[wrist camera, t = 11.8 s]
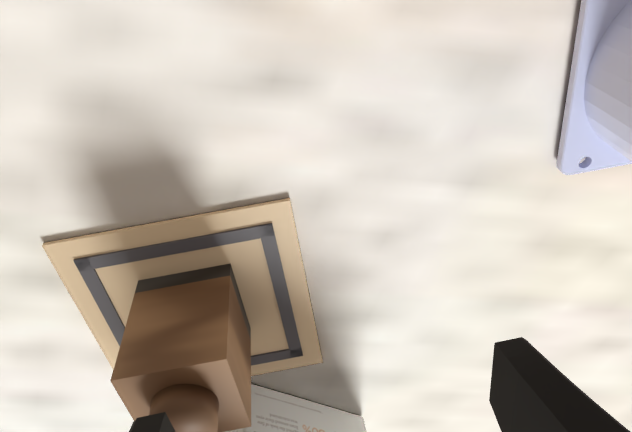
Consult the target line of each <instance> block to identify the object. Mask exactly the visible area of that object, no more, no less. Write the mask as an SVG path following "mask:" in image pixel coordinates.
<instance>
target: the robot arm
mask: <svg viewBox="0 0 632 432" xmlns="http://www.w3.org/2000/svg"><path fill="white" fill-rule="evenodd" d="M584 157H586V158H585V160H584V161H583V162H582V163H580V164H579V162H580V160H581V159H583V158H584ZM627 164H632V0H581V6H580V13H579V19H578V26H577V33H576V39H575V46H574V52H573V59H572V65H571V72H570V78H569V85H568V92H567V98H566V105H565V111H564V118H563V124H562V131H561V138H560V144H559V151H558V157H557V168H558V169H559V170H560V171H561V172H562V173H563V174H565V175H573V174H578V173H584V172H589V171H595V170H600V169H605V168H611V167H616V166H622V165H627ZM489 401H490V404H491V406H492V409H493V411H494V414H495V416H496V419H497V421H498V424H499V426H500V429H501V431H502V432H630V431H629V430H628V429H626V428H625V427H624V426H623V425H621V424H620V423H619V422H618V421H617V420H615V419H614V418H613V417H612V416H611V415H610V414H608V413H607V412H606V411H605V410H604V409H602V408H601V407H600V406H599V405H598V404H596V403H595V402H594V401H593V400H592V399H591V398H589V397H588V396H587V395H586V394H585V393H584V392H583V391H581V390H580V389H579V388H578V387H577V386H576V385H575V384H574V383H572V382H571V381H570V380H569V379H568V378H567V377H566V376H565V375H563V374H562V373H561V372H560V371H559V370H558V369H557V368H556V367H555V366H554V365H552V364H551V363H550V362H549V361H548V360H547V359H546V358H545V357H544V356H543V355H542V354H541V353H540V352H538V351H537V350H536V349H535V348H534V347H533V346H532V345H531V344H530V343H529V342H528V341H527V340H525V339H524V338H522V337H521V338H516V339H511V340H506V341H502V342H497V343H495V345H494V356H493V367H492V378H491V389H490V400H489ZM129 432H175V430H174V428H173V426H172V424H171V422H170V420H169V418H168V416H167V414H166V412H163V413H158V414H153V415H148V416H144V417H139V418H136V420H135V421H134V422H133V424H132V426H131V429H130V431H129Z"/></svg>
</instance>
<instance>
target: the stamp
mask: <svg viewBox="0 0 632 432" xmlns="http://www.w3.org/2000/svg"><path fill="white" fill-rule="evenodd" d="M111 382H112V384H113V386H114V388H115V389H116V391H117V393H118V394H119V396H120V398H121V399H122V401H123V403H124V404H125V406H126V408H127V409H128V411H129V413H130V415H131V416H132V418H133V420H134V421H135V420H136V418H139V417H144V416H148V415H153V414H158V413H163V412H166V414H167V416H168V418H169V420H170V422H171V424H172V426H173V428H174V430H175V432H225V431H231V430H236V429H241V428H246V427H251V328H250V324H249V321H248V318H247V315H246V311H245V308H244V305H243V302H242V299H241V295H240V292H239V289H238V286H237V282H236V279H235V276H234V273H233V270H232V266H231V263H230V264H225V265H219V266H214V267H208V268H203V269H198V270H192V271H187V272H181V273H176V274H170V275H165V276H160V277H154V278H149V279H143V280H138V283H137V287H136V290H135V294H134V298H133V301H132V305H131V309H130V312H129V316H128V319H127V323H126V327H125V330H124V334H123V338H122V341H121V345H120V348H119V352H118V356H117V359H116V363H115V366H114V370H113V374H112V377H111Z"/></svg>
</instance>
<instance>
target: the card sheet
mask: <svg viewBox="0 0 632 432" xmlns="http://www.w3.org/2000/svg"><path fill="white" fill-rule="evenodd" d="M42 247H43V248H44V250H45V252H46V254H47V255H48V257H49V259H50V261H51V262H52V264H53V266H54V267H55V269H56V271H57V273H58V274H59V276H60V278H61V280H62V281H63V283H64V285H65V287H66V288H67V290H68V292H69V294H70V295H71V297H72V299H73V300H74V302H75V304H76V306H77V307H78V309H79V311H80V313H81V314H82V316H83V318H84V320H85V321H86V323H87V325H88V327H89V328H90V330H91V332H92V333H93V335H94V337H95V339H96V340H97V342H98V344H99V346H100V347H101V349H102V351H103V353H104V354H105V356H106V358H107V359H108V361H109V363H110V365H111V366H112V368H113V370H114V366H115V363H116V359H117V356H118V352H119V348H120V345H121V341H122V338H123V334H124V330H125V327H126V323H127V319H128V316H129V312H130V309H131V305H132V301H133V298H134V294H135V290H136V287H137V283H138V280H143V279H149V278H154V277H160V276H165V275H170V274H176V273H181V272H187V271H192V270H198V269H203V268H208V267H214V266H219V265H225V264H230V263H231V266H232V270H233V273H234V276H235V279H236V282H237V286H238V289H239V292H240V295H241V299H242V302H243V305H244V308H245V311H246V315H247V318H248V321H249V324H250V328H251V376H255V375H260V374H265V373H271V372H276V371H281V370H287V369H292V368H297V367H302V366H308V365H313V364H318V363H323V360H322V355H321V350H320V345H319V340H318V336H317V331H316V326H315V321H314V316H313V311H312V306H311V301H310V296H309V291H308V286H307V281H306V276H305V271H304V266H303V262H302V257H301V252H300V247H299V242H298V237H297V232H296V227H295V222H294V217H293V212H292V207H291V202H290V198H287V199H281V200H276V201H270V202H265V203H259V204H254V205H248V206H243V207H237V208H232V209H226V210H221V211H215V212H210V213H204V214H199V215H194V216H188V217H183V218H177V219H172V220H166V221H161V222H155V223H150V224H144V225H139V226H133V227H128V228H122V229H117V230H111V231H106V232H100V233H95V234H90V235H84V236H79V237H73V238H68V239H62V240H57V241H51V242H46V243H43V245H42Z"/></svg>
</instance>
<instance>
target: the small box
mask: <svg viewBox="0 0 632 432" xmlns="http://www.w3.org/2000/svg"><path fill="white" fill-rule="evenodd" d="M225 432H366V428H365V424H364V419H363V417H361V416H359V415H355V414H352V413H348V412H345V411H342V410H338V409H335V408H332V407H328V406H325V405H322V404H318V403H315V402H311V401H308V400H305V399H301V398H298V397H295V396H291V395H288V394H285V393H281V392H278V391H274V390H271V389H267V388H264V387H260V386H257V385H254V384H251V427H246V428H241V429H236V430H231V431H225Z"/></svg>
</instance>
